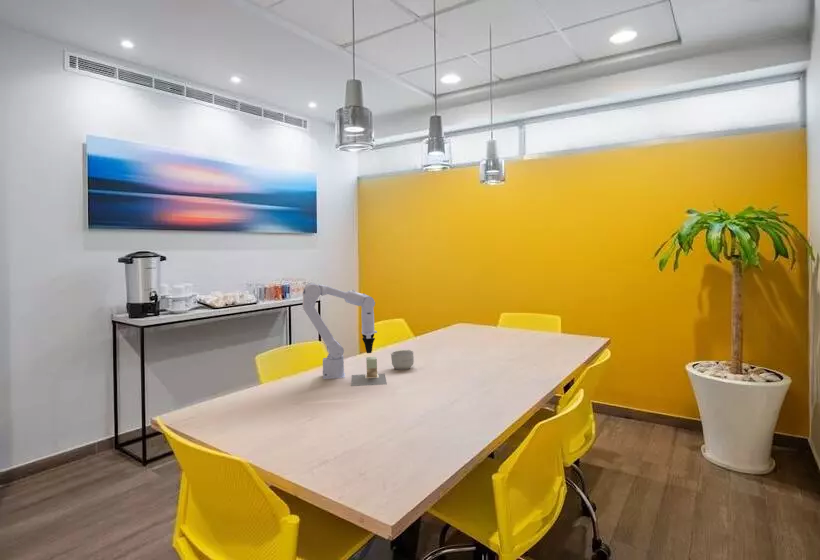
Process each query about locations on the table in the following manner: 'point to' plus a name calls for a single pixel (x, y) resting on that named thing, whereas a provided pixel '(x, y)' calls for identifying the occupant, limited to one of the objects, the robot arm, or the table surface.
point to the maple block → (372, 372)
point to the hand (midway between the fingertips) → (368, 351)
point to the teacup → (402, 359)
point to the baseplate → (368, 380)
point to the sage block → (371, 362)
